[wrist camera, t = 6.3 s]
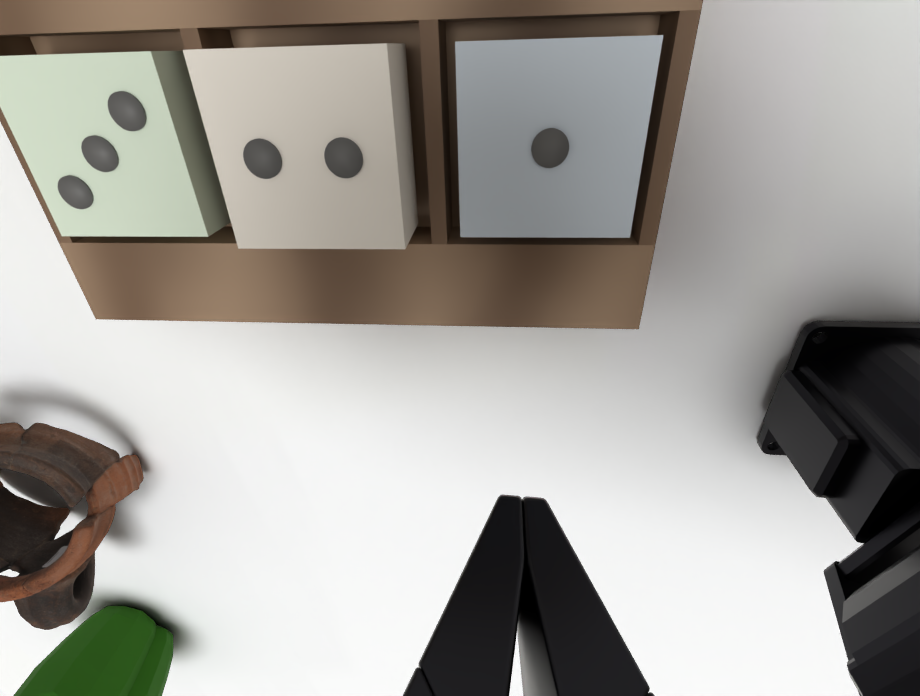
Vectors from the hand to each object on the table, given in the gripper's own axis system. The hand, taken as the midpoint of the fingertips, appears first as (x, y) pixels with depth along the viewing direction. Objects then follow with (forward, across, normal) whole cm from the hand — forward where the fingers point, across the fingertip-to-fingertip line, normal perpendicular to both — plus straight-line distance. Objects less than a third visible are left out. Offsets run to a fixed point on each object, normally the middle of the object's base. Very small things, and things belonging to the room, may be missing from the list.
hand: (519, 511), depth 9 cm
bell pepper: (+11, +25, +29) cm, 40 cm away
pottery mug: (+12, +23, +14) cm, 29 cm away
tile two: (+9, +6, -5) cm, 12 cm away
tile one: (+10, 0, -5) cm, 12 cm away
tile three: (+10, +12, -4) cm, 17 cm away
